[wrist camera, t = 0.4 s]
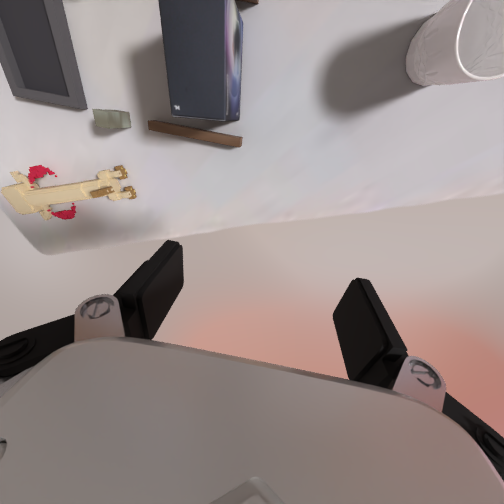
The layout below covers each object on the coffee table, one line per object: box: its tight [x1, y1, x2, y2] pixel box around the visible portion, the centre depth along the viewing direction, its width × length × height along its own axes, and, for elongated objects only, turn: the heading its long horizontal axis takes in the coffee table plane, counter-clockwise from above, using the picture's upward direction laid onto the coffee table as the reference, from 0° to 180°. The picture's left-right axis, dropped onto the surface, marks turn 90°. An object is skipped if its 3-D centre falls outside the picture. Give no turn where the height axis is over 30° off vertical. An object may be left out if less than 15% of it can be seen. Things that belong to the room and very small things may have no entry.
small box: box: [159, 0, 243, 121], centre depth 24 cm, size 11×6×10 cm, turn 176°
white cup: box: [406, 0, 504, 86], centre depth 21 cm, size 8×8×10 cm
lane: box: [92, 0, 258, 147], centre depth 26 cm, size 17×20×5 cm
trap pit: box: [0, 0, 88, 109], centre depth 28 cm, size 14×10×2 cm
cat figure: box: [1, 165, 136, 220], centre depth 37 cm, size 10×9×25 cm
